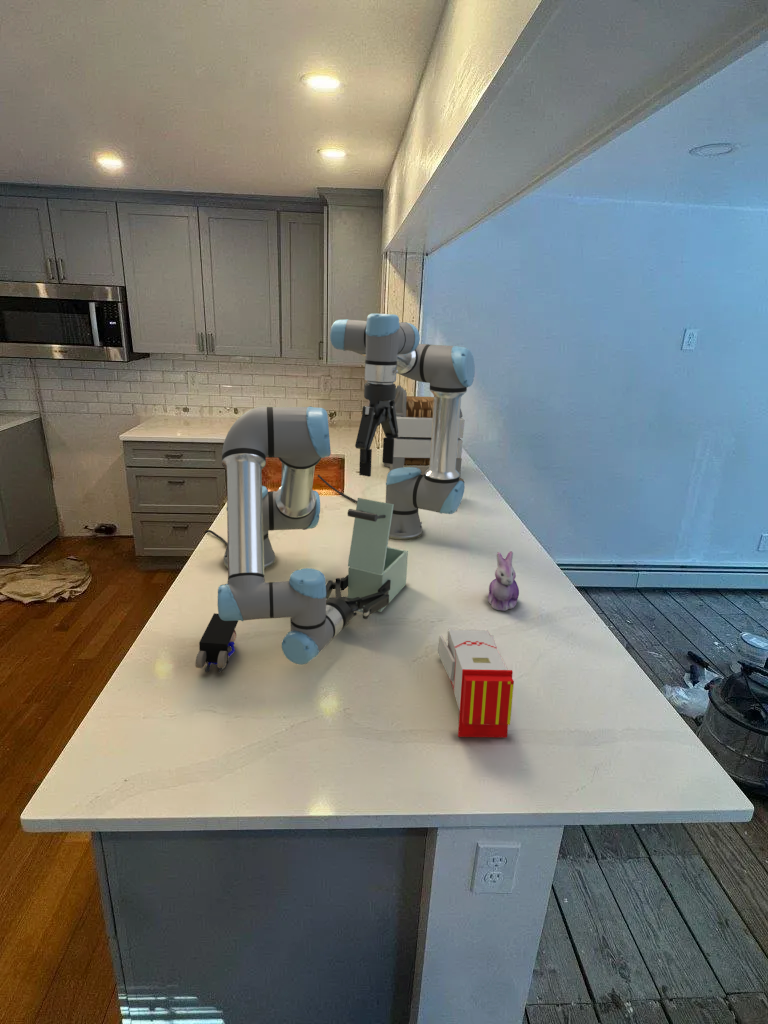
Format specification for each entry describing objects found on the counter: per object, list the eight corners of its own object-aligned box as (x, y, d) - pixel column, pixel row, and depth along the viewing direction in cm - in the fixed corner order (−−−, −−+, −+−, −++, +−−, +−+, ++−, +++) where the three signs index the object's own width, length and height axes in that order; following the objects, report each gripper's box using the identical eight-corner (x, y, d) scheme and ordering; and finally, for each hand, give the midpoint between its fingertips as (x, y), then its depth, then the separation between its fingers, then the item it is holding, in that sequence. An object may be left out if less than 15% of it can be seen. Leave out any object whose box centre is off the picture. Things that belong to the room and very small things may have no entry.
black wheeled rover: (228, 683, 120) (242, 637, 133) (225, 655, 116) (240, 611, 130) (196, 682, 119) (214, 637, 133) (192, 654, 116) (211, 610, 130)
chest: (375, 577, 167) (376, 544, 163) (406, 584, 163) (408, 550, 159) (347, 603, 152) (348, 567, 148) (381, 612, 148) (382, 575, 144)
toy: (488, 613, 130) (523, 677, 101) (484, 667, 133) (517, 744, 104) (435, 612, 130) (455, 676, 101) (432, 666, 133) (451, 743, 103)
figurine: (500, 615, 149) (507, 563, 144) (477, 598, 157) (483, 548, 152) (528, 608, 153) (536, 557, 148) (504, 591, 161) (510, 543, 156)
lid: (358, 497, 146) (344, 498, 139) (393, 504, 143) (381, 505, 135) (349, 565, 148) (334, 570, 141) (383, 574, 145) (370, 578, 137)
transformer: (382, 463, 289) (386, 382, 275) (445, 464, 293) (451, 384, 279) (390, 482, 257) (394, 392, 243) (460, 483, 261) (468, 394, 247)
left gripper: (289, 620, 137) (333, 583, 156) (373, 644, 129) (409, 602, 148) (288, 593, 134) (334, 558, 154) (374, 615, 126) (411, 576, 145)
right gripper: (372, 389, 122) (369, 483, 129) (413, 379, 144) (409, 460, 151) (341, 386, 125) (340, 478, 132) (386, 376, 146) (383, 456, 154)
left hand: (371, 580), depth 151 cm, fingers closed on chest, 10 cm apart
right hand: (376, 469), depth 142 cm, fingers open, 13 cm apart
